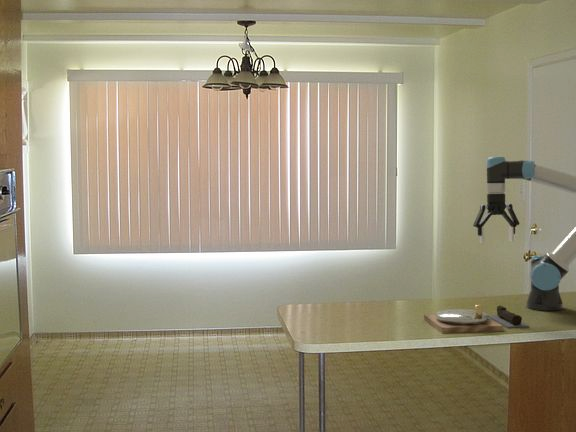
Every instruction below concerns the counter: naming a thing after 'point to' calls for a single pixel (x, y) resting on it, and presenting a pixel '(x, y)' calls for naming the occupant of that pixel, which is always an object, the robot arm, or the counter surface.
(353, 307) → the counter surface
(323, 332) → the counter surface
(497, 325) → the board
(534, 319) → the counter surface
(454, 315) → the dial
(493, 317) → the mat
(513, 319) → the hand tool
